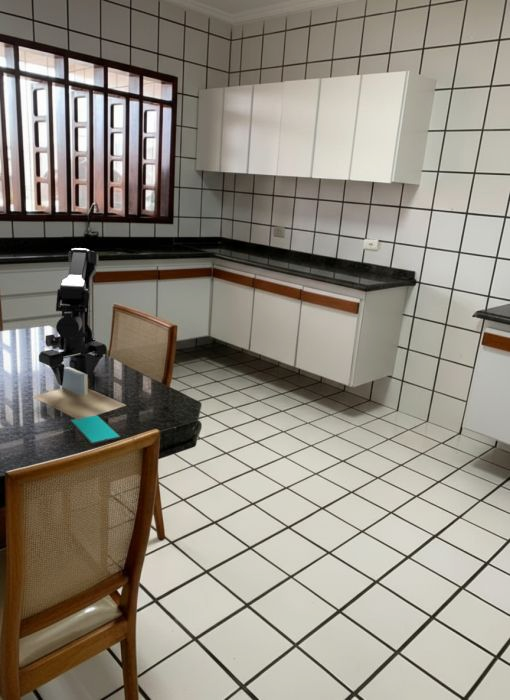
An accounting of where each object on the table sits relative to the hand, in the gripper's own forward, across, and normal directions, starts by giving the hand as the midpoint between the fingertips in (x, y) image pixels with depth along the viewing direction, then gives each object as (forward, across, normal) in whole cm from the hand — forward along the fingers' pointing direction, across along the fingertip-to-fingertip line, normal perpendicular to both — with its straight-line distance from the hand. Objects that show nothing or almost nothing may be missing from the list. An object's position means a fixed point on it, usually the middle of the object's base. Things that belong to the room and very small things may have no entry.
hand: (74, 381), depth 154 cm
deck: (+3, 0, 0) cm, 3 cm away
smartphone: (+4, +11, +24) cm, 27 cm away
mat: (+3, +4, +7) cm, 9 cm away
